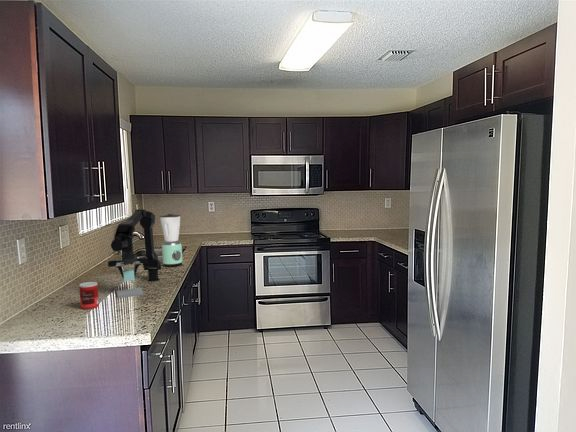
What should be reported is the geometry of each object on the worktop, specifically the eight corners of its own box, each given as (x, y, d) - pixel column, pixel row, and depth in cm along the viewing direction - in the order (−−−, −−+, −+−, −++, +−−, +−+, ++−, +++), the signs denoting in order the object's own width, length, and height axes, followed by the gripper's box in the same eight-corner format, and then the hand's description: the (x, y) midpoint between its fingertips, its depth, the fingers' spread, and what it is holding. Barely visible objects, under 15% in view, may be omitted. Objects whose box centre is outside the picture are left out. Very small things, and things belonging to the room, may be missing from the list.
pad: (117, 292, 213) (117, 290, 213) (141, 289, 218) (141, 287, 217) (117, 298, 202) (117, 296, 202) (143, 294, 207) (143, 292, 207)
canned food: (94, 303, 194) (92, 280, 193) (102, 306, 189) (100, 283, 188) (77, 307, 188) (75, 284, 187) (85, 310, 183) (83, 286, 182)
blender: (188, 265, 276) (185, 214, 273) (169, 268, 267) (166, 215, 264) (174, 261, 290) (171, 212, 287) (156, 264, 281) (153, 214, 278)
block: (123, 279, 210) (123, 269, 210) (134, 278, 212) (133, 268, 212) (124, 281, 206) (123, 271, 205) (134, 280, 208) (134, 270, 207)
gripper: (107, 252, 196) (109, 283, 198) (147, 248, 204) (149, 278, 205) (107, 248, 207) (109, 278, 208) (145, 245, 214) (147, 274, 216)
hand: (129, 277), depth 209 cm, fingers closed on block, 5 cm apart
